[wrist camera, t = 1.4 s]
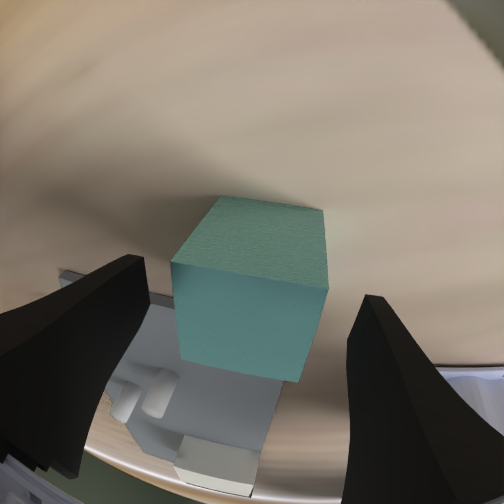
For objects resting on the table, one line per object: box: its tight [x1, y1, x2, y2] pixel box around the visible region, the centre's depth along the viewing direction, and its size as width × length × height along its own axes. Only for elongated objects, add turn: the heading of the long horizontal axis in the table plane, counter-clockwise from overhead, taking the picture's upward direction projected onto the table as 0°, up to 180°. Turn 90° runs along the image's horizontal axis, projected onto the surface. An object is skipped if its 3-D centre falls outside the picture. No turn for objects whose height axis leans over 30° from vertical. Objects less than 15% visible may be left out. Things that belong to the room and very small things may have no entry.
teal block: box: [170, 195, 329, 382], centre depth 10 cm, size 4×4×5 cm
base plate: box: [58, 271, 284, 498], centre depth 21 cm, size 15×28×4 cm, turn 175°
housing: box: [173, 435, 261, 497], centre depth 22 cm, size 7×6×4 cm
